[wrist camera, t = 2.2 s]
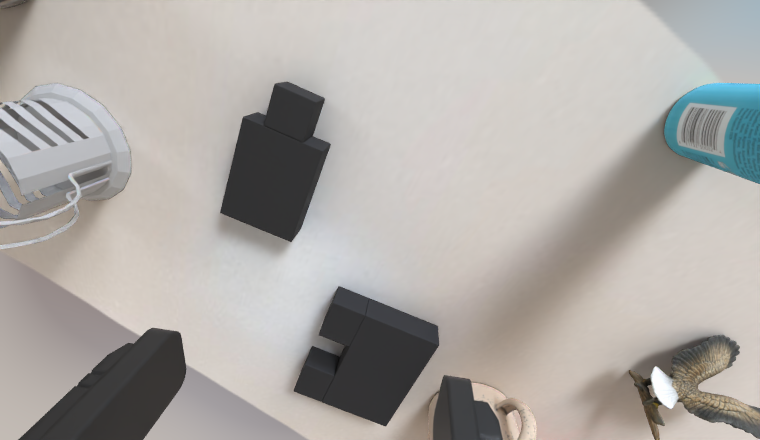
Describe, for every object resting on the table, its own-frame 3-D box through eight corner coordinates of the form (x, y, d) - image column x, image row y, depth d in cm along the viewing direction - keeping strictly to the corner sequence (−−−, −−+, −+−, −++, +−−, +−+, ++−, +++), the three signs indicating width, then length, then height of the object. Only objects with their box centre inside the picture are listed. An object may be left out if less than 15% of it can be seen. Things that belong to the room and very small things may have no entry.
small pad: (300, 229, 31) (291, 242, 29) (234, 201, 31) (219, 212, 28) (344, 106, 26) (337, 111, 24) (267, 72, 26) (252, 73, 24)
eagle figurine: (647, 423, 34) (771, 416, 30) (663, 462, 28) (823, 461, 24) (617, 341, 36) (732, 325, 32) (626, 362, 30) (771, 345, 26)
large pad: (300, 371, 38) (293, 391, 36) (339, 285, 33) (332, 302, 31) (387, 405, 39) (385, 426, 36) (438, 326, 34) (439, 345, 31)
